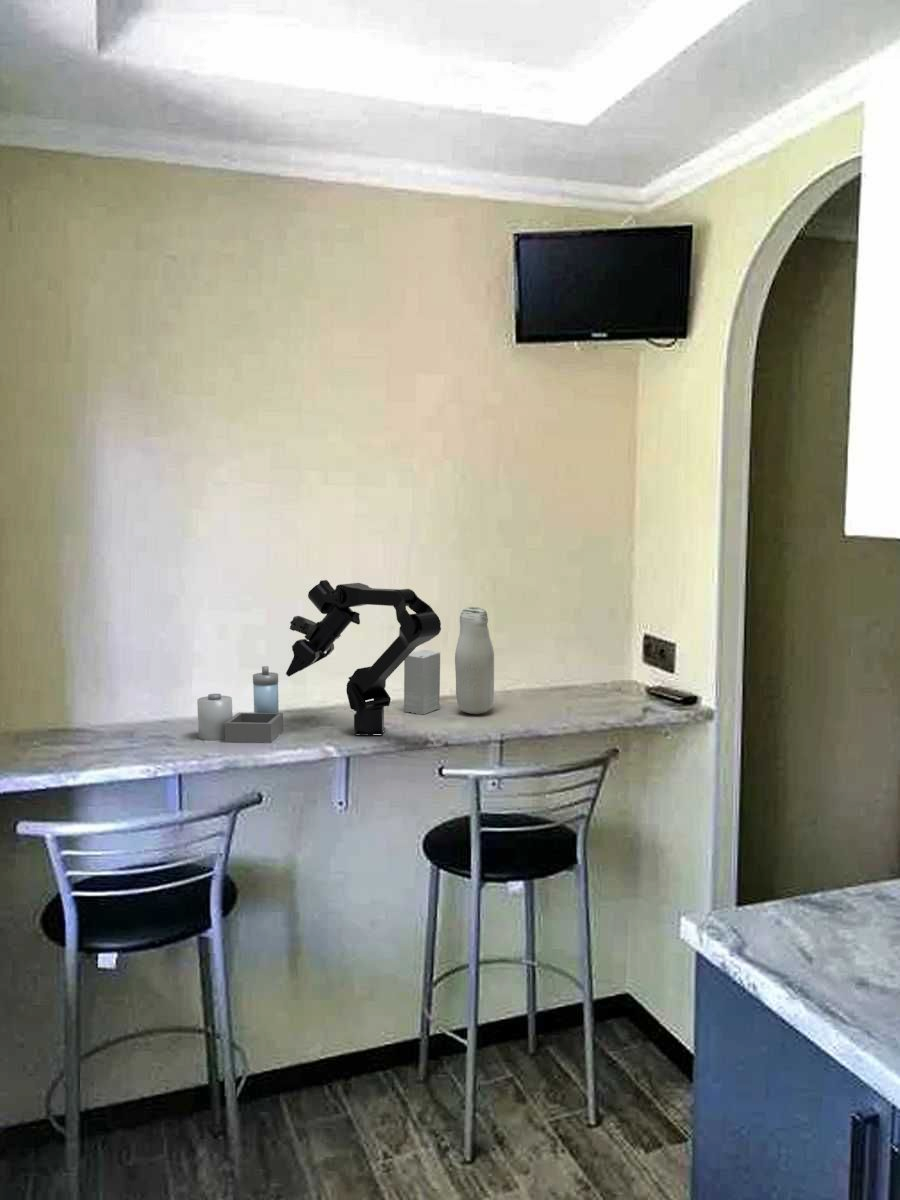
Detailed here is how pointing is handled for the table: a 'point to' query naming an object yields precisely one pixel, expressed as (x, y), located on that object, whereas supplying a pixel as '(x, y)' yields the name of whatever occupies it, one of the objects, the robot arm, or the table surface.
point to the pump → (265, 691)
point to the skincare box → (422, 682)
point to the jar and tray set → (235, 722)
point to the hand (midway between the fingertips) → (292, 672)
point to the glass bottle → (474, 663)
